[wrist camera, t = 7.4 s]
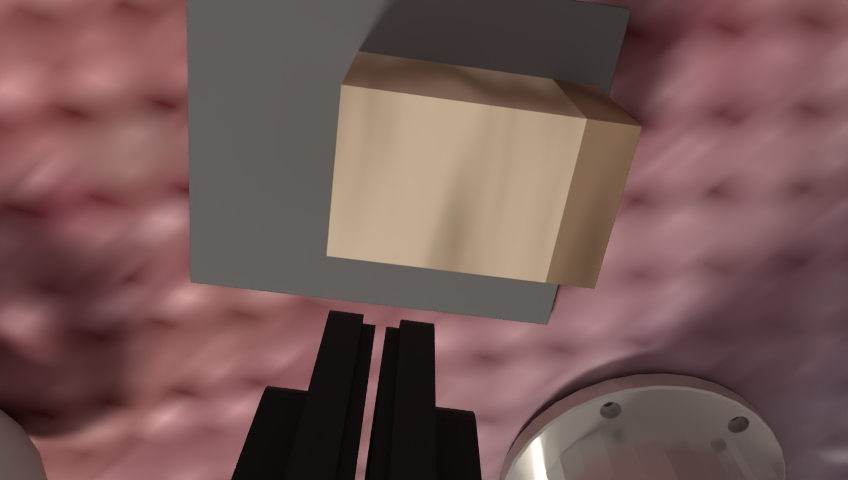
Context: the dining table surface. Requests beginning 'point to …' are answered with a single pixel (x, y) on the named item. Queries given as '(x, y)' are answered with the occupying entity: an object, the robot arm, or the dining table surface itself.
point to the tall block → (477, 170)
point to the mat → (318, 122)
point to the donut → (18, 453)
